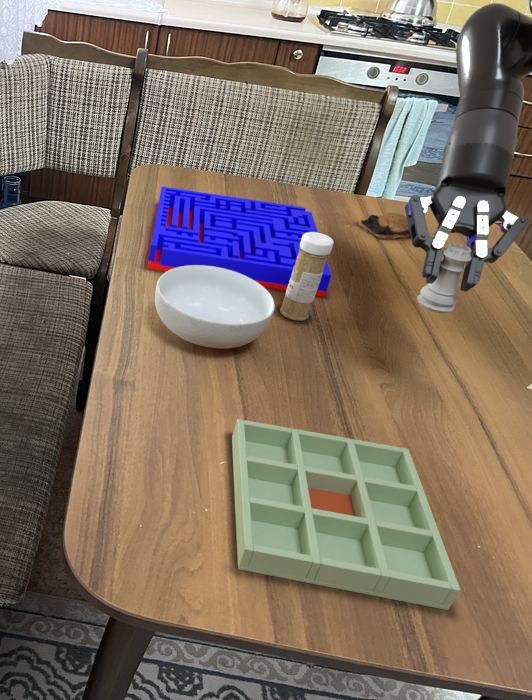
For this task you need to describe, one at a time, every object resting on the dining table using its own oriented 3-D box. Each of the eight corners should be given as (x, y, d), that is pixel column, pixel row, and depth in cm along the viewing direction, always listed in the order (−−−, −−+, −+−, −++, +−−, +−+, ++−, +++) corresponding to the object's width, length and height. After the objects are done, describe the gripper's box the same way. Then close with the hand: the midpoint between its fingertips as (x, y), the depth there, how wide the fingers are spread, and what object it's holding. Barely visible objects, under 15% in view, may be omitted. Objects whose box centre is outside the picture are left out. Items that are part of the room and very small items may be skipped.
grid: (399, 467, 80) (408, 448, 79) (448, 610, 64) (461, 590, 63) (231, 437, 82) (237, 418, 81) (237, 569, 66) (245, 549, 64)
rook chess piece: (444, 318, 83) (471, 259, 78) (409, 303, 86) (433, 245, 81) (459, 307, 86) (486, 250, 81) (424, 293, 88) (449, 236, 84)
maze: (324, 296, 114) (331, 275, 112) (147, 268, 117) (150, 247, 115) (304, 226, 139) (310, 208, 137) (158, 204, 142) (161, 186, 140)
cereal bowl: (146, 355, 95) (154, 312, 91) (151, 297, 109) (158, 258, 105) (269, 373, 94) (282, 330, 90) (257, 313, 108) (269, 273, 104)
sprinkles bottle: (277, 305, 111) (301, 229, 103) (306, 309, 110) (331, 233, 103) (281, 319, 107) (305, 241, 99) (310, 324, 106) (337, 246, 99)
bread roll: (396, 221, 146) (402, 205, 144) (423, 237, 140) (430, 221, 138) (354, 222, 143) (360, 206, 141) (380, 239, 137) (386, 222, 135)
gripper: (426, 130, 83) (395, 261, 80) (555, 152, 79) (527, 289, 76) (408, 160, 90) (379, 281, 87) (526, 182, 86) (499, 308, 84)
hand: (448, 284), depth 82 cm, fingers closed on rook chess piece, 3 cm apart
